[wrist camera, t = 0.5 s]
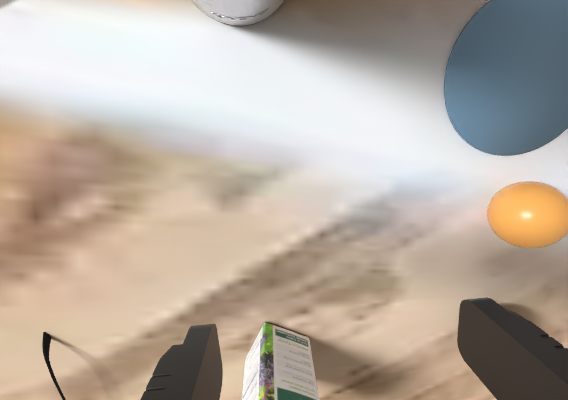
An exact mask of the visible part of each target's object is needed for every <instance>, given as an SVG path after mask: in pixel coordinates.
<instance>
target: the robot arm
mask: <svg viewBox="0 0 568 400" xmlns="http://www.w3.org/2000/svg"><path fill="white" fill-rule="evenodd" d="M192 1H193V2H194V3H195V5H196V6H197V7H198V8H199V9H201V10H202V11H203V12H204V13H205V14H206V15H208V16H210V17H212V18H213V19H215V20H217V21H219V22H222V23H226V24H229V25H242V26H244V25H249V24H254V23H257V22H259V21H261V20H263V19H266V18H267V17H268V16H270V15H271V14H272V13H274V12H275V11H276V10H277V9H278V8H279V7H280V5H281V4H282V3H283V2H284V1H285V0H192ZM457 342H458V348H459V351H460V354H461V356H462V358H463V359H464V361H465V362H466V363H467V365H468V366H469V367H470V368H471V369H472V371H473V372H474V373H475V374H476V375H477V376H478V378H479V379H480V380H481V381H482V382H483V384H484V385H485V386H486V387H487V388H488V389H489V391H490V392H491V393H492V394H493V395H494V397H495V398H496V399H497V400H568V349H567V348H564V347H563V345H562V344H560V343H559V342H558V341H556V340H555V339H554V338H552V337H549V336H548V334H547V333H545V332H544V331H543V330H541V329H540V328H539V327H537V326H536V325H534V324H533V323H532V322H530V321H528V320H526V319H524V318H522V317H519V316H517V315H515V314H513V313H511V312H508V311H507V310H505V309H504V308H503V307H501V306H500V305H499V304H498V303H496V302H495V301H494V300H492V299H490V298H478V299H468V300H463V301H462V302H461V304H460V312H459V325H458V338H457ZM222 374H223V373H222V360H221V354H220V347H219V340H218V334H217V328H216V325H215V324H207V325H197V326H191V327H190V328H189V330H188V333H187V335H186V338H185V340H184V343H183V344H181V345H173V346H172V347H171V348H170V349H169V350H168V351H167V352H166V353H165V354H164V355H163V356H162V357H161V358H160V360H159V362H158V364H157V366H156V368H155V370H154V372H153V377H152V378H151V379H150V381H149V383H148V385H147V387H146V391H144V394H143V396H142V398H141V400H219V398H220V393H221V387H222Z"/></svg>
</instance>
